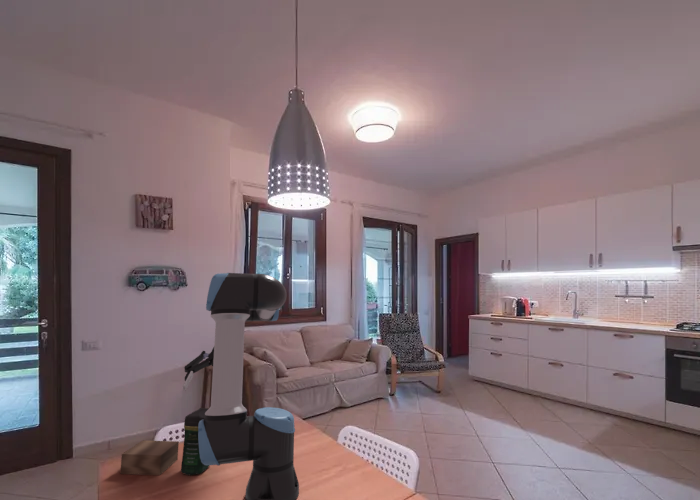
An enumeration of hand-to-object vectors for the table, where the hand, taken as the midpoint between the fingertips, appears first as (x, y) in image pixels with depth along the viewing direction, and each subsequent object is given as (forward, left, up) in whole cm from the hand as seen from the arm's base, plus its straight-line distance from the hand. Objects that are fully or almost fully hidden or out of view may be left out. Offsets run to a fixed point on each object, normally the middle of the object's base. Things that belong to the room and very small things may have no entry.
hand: (203, 392), depth 131 cm
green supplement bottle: (-7, +3, -23) cm, 24 cm away
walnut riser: (+5, +14, -22) cm, 27 cm away
